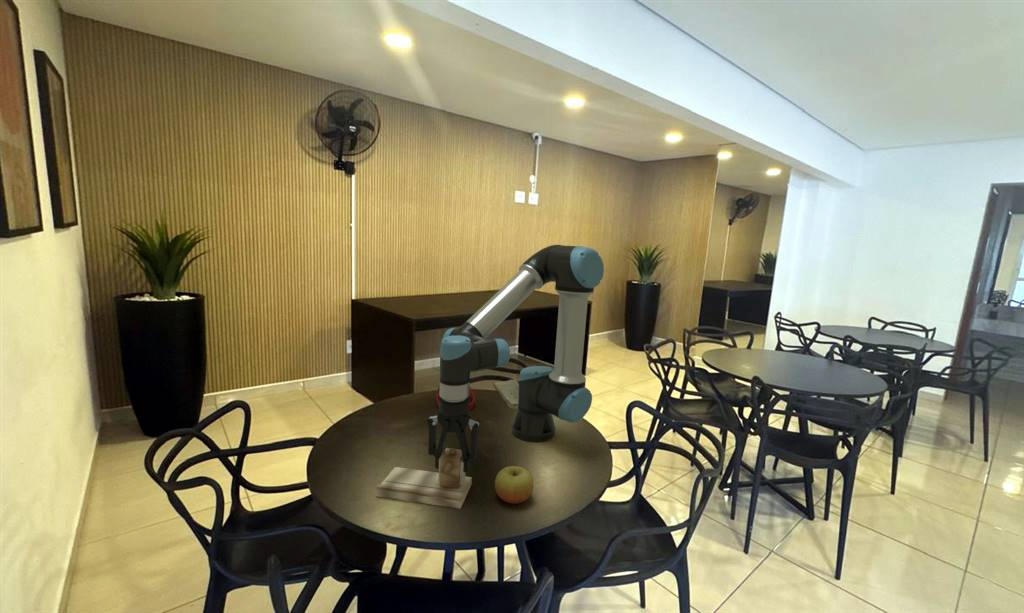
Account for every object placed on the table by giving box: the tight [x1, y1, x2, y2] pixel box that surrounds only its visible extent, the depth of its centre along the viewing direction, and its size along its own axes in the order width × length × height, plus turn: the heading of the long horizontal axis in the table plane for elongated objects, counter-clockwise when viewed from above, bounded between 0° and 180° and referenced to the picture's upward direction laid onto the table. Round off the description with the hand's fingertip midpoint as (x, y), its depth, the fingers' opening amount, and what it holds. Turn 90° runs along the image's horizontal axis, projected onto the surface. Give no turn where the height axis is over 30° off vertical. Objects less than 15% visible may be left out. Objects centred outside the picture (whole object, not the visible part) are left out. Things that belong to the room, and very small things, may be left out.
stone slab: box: [492, 379, 519, 411], centre depth 181 cm, size 12×4×30 cm
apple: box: [494, 465, 534, 505], centre depth 112 cm, size 10×10×8 cm
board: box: [376, 466, 473, 510], centre depth 114 cm, size 22×11×3 cm, turn 81°
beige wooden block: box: [440, 447, 463, 488], centre depth 112 cm, size 5×8×9 cm, turn 171°
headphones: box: [435, 384, 476, 411], centre depth 172 cm, size 15×7×20 cm
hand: (451, 480), depth 114 cm, fingers closed on beige wooden block, 5 cm apart
